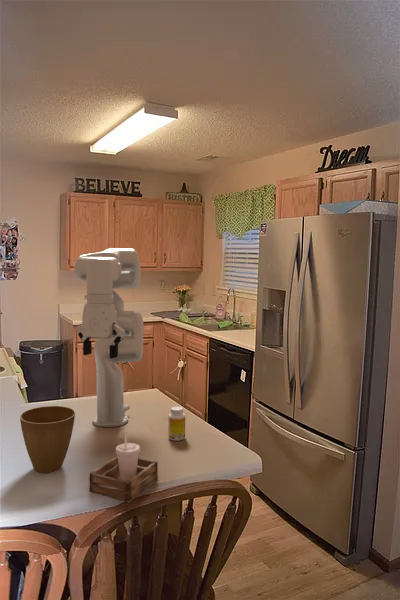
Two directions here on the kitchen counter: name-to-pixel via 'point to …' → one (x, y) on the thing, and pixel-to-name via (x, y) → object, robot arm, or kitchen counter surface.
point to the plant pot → (47, 436)
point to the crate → (118, 488)
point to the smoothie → (127, 459)
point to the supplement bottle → (176, 424)
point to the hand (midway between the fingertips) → (100, 356)
